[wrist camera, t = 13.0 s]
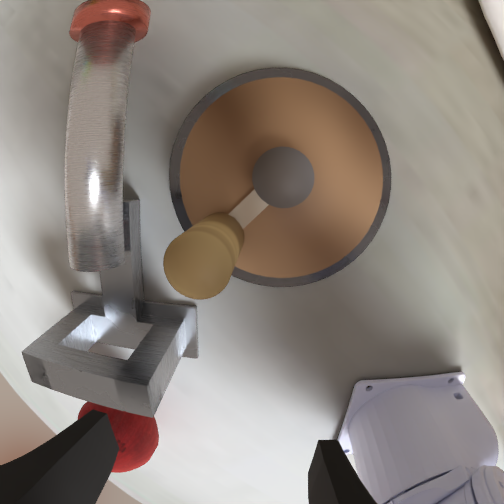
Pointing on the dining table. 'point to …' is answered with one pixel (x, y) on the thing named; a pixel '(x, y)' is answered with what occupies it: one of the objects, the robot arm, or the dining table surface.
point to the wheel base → (302, 75)
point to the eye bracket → (116, 338)
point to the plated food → (495, 20)
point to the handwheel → (273, 185)
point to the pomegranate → (129, 436)
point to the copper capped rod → (99, 130)
